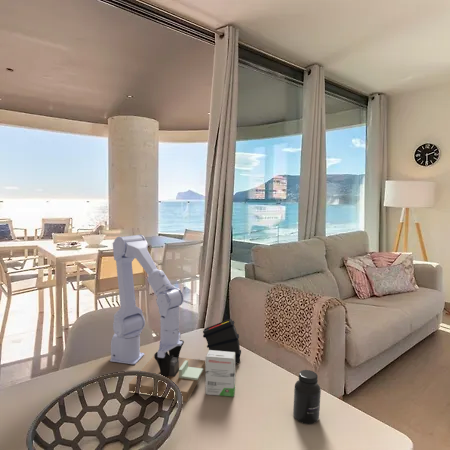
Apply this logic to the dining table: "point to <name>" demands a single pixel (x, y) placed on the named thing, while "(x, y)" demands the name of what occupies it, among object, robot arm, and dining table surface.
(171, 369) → the plug
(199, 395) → the dining table surface
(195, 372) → the pale green notched block
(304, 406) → the supplement bottle
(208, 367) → the ink box
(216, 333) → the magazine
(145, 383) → the socket board
